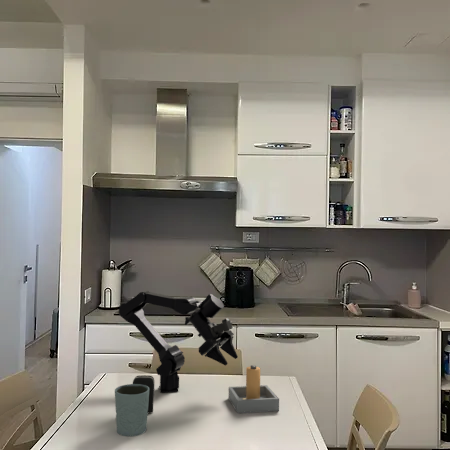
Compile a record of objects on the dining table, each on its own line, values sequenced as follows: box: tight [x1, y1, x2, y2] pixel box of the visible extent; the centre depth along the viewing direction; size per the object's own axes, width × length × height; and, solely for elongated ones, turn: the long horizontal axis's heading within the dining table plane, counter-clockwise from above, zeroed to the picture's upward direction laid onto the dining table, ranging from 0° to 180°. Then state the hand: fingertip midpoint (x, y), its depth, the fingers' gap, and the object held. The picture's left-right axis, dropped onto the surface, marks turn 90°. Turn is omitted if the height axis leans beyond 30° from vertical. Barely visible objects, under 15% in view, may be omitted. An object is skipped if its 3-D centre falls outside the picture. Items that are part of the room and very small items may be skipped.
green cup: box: [114, 383, 149, 437], centre depth 140 cm, size 10×10×12 cm
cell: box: [245, 364, 261, 399], centre depth 164 cm, size 5×5×12 cm
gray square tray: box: [228, 384, 280, 414], centre depth 164 cm, size 14×14×4 cm
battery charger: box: [132, 375, 155, 414], centre depth 155 cm, size 7×4×11 cm, turn 93°
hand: (231, 361), depth 167 cm, fingers open, 9 cm apart
